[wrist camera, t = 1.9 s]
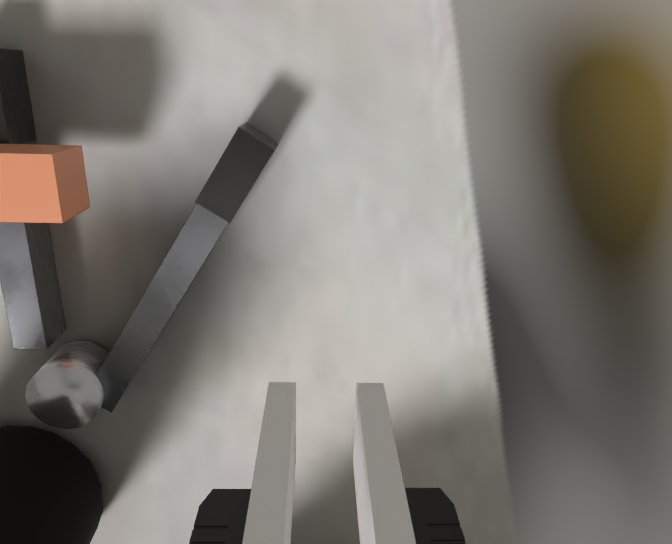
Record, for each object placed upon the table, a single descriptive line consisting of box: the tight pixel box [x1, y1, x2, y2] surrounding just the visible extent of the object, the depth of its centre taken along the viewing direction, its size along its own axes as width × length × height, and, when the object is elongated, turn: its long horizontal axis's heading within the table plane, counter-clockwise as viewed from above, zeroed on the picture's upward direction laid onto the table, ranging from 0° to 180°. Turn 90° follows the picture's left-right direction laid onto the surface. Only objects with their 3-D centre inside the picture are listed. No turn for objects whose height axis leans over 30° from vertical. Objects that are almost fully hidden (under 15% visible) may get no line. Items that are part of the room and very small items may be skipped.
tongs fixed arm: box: [0, 49, 66, 349], centre depth 28 cm, size 16×2×3 cm, turn 178°
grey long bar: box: [25, 123, 278, 429], centre depth 29 cm, size 20×5×3 cm, turn 146°
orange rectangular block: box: [0, 144, 90, 223], centre depth 24 cm, size 3×6×3 cm, turn 88°
